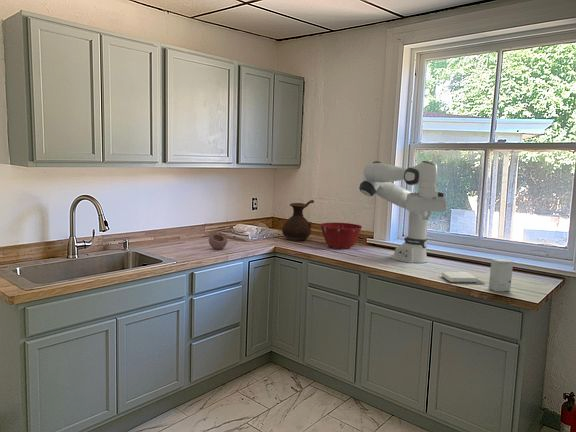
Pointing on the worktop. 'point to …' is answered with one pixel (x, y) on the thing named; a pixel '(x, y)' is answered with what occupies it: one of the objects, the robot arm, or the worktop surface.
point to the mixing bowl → (340, 234)
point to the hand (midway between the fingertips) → (425, 219)
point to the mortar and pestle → (217, 240)
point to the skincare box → (500, 274)
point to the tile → (459, 277)
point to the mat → (470, 282)
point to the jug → (297, 223)
